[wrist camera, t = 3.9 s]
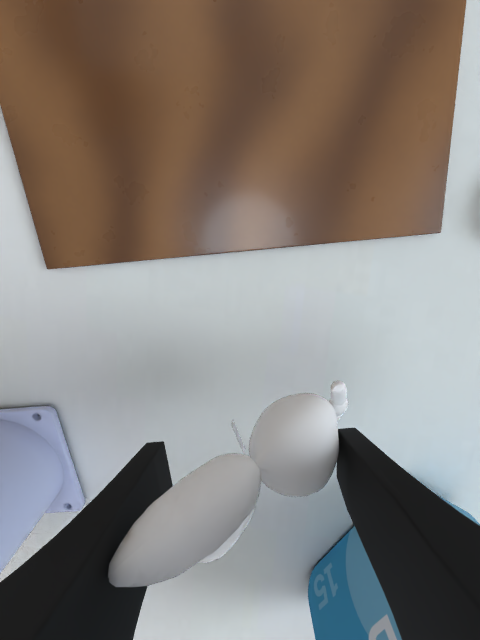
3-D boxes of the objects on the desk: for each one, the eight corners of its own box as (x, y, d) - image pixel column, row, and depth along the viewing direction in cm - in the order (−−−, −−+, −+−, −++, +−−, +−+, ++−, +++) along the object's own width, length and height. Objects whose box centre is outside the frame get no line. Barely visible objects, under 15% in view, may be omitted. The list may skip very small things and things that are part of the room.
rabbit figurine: (365, 451, 11) (211, 617, 9) (297, 388, 14) (161, 506, 11) (405, 384, 7) (126, 672, 5) (295, 309, 9) (74, 472, 7)
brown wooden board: (52, 268, 14) (46, 269, 14) (-31, -28, 11) (-42, -38, 11) (435, 233, 14) (441, 232, 13) (469, -94, 10) (478, -108, 10)
